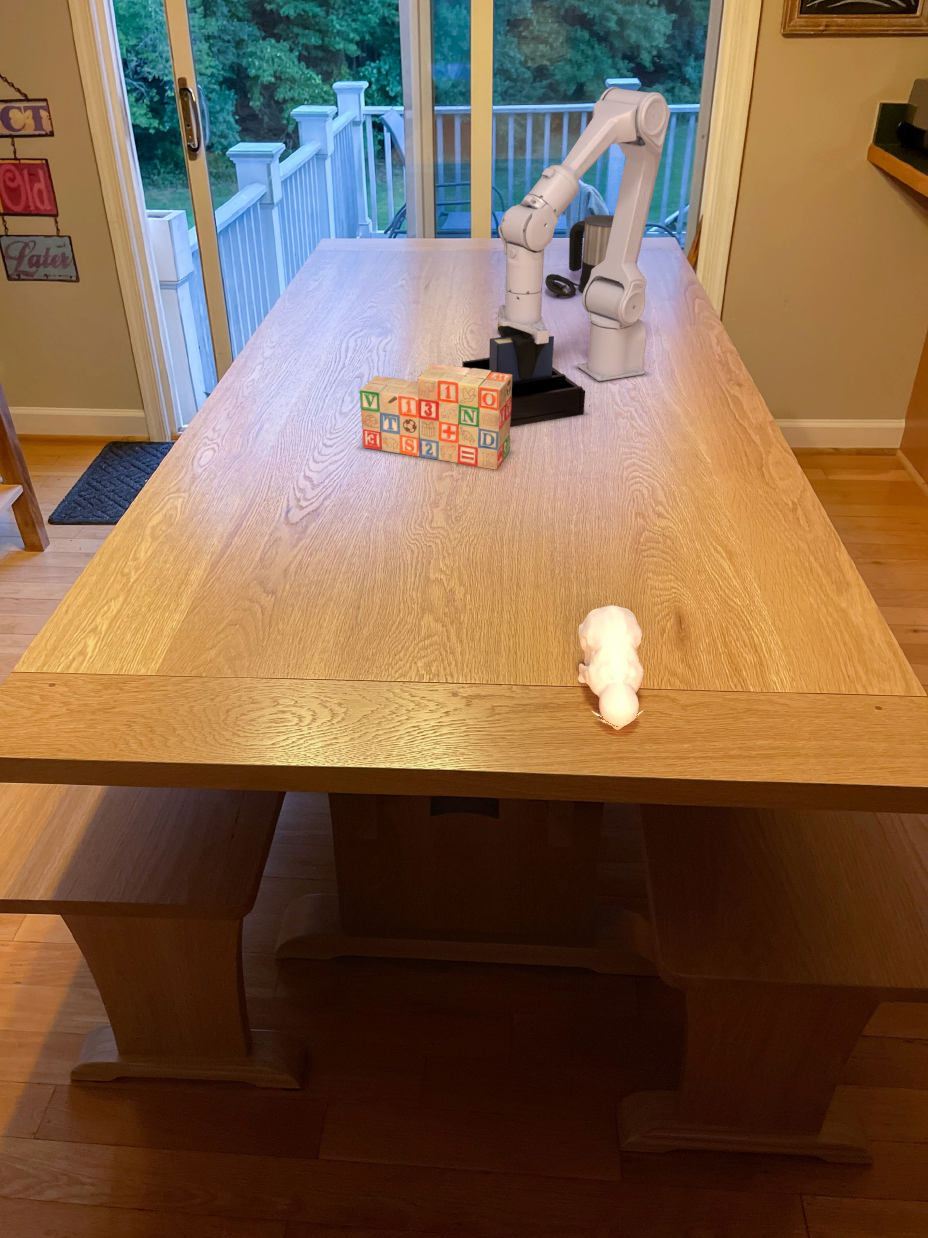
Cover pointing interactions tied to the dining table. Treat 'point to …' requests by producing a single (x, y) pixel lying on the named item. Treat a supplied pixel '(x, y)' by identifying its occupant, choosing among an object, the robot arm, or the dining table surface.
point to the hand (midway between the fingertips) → (520, 373)
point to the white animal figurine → (612, 662)
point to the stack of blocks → (440, 415)
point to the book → (506, 358)
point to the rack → (540, 396)
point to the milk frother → (593, 252)
